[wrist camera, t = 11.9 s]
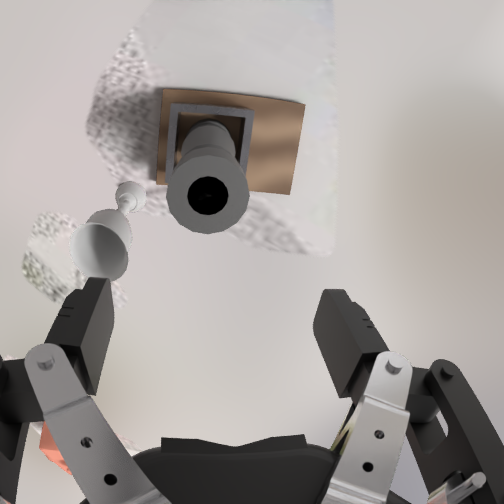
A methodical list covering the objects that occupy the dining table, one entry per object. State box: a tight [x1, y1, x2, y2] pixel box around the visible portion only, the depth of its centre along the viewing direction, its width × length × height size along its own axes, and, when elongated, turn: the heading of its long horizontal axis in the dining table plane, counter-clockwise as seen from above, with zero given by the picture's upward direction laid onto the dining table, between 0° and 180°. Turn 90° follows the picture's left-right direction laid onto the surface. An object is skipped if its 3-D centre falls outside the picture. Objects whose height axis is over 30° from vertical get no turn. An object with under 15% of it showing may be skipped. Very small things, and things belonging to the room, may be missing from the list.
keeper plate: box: [156, 89, 305, 195], centre depth 45 cm, size 14×20×2 cm
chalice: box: [69, 182, 146, 282], centre depth 40 cm, size 7×7×18 cm
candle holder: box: [166, 118, 250, 234], centre depth 33 cm, size 6×6×25 cm
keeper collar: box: [165, 102, 255, 183], centre depth 41 cm, size 10×10×5 cm
